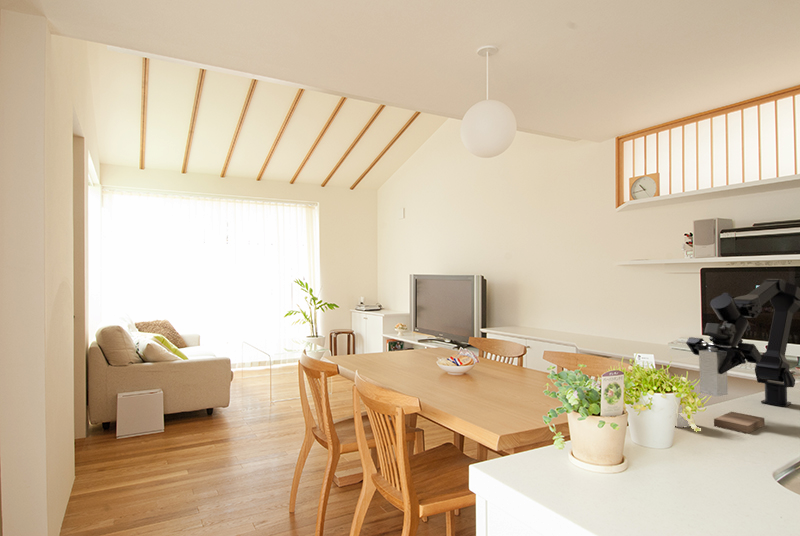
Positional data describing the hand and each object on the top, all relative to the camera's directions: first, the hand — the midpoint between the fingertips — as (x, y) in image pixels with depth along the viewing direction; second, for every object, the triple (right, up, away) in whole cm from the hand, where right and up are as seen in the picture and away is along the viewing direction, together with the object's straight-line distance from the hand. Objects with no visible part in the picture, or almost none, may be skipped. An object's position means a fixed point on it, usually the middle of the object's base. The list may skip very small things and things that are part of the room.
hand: (710, 371), depth 141 cm
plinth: (+3, -13, -7) cm, 16 cm away
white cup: (-13, -14, -6) cm, 20 cm away
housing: (+1, -7, +1) cm, 7 cm away
